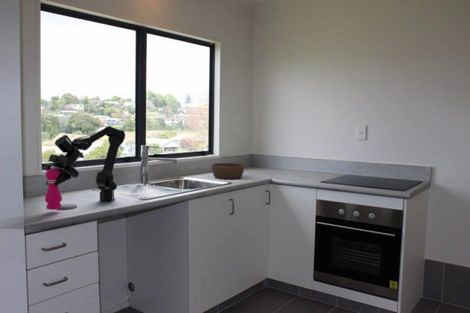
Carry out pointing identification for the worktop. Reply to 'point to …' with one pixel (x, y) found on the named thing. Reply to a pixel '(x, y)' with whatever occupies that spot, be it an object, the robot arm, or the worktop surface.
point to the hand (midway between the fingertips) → (50, 185)
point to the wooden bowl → (227, 170)
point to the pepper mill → (53, 190)
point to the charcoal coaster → (67, 206)
